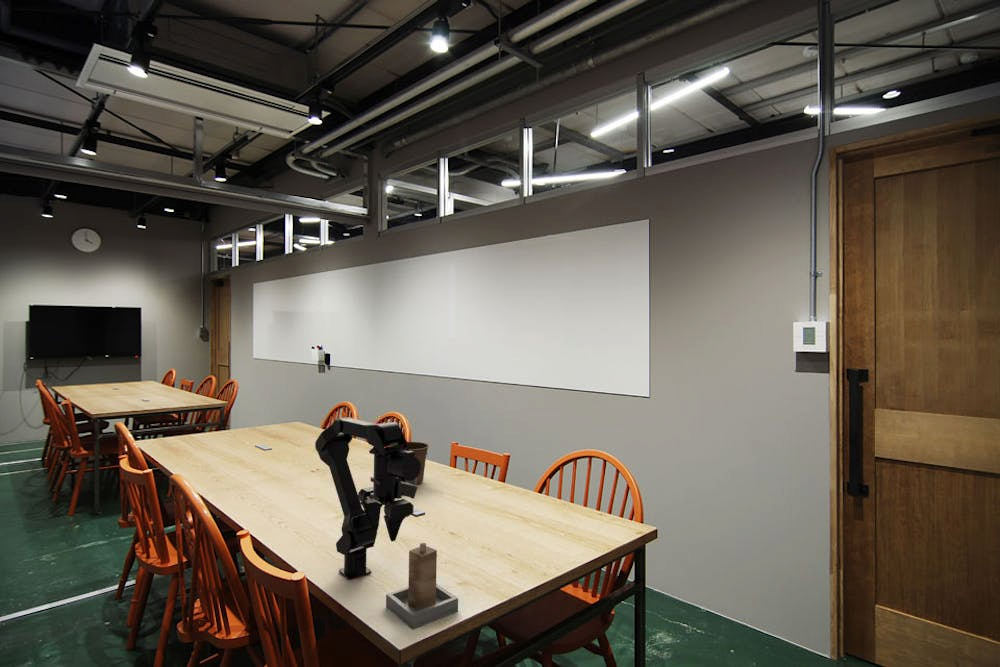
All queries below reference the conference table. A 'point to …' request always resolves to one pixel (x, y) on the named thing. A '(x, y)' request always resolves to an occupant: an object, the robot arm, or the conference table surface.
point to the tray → (415, 618)
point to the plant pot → (419, 453)
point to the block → (422, 577)
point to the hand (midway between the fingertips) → (384, 535)
